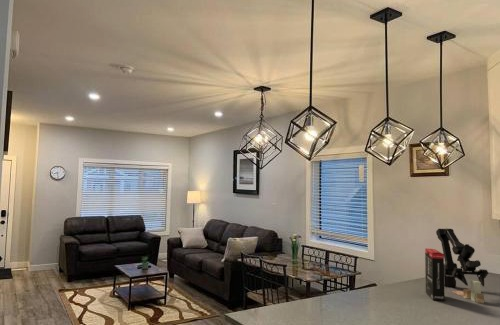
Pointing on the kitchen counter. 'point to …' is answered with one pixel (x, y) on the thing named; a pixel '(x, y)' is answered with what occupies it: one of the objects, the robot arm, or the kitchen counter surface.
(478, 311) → the kitchen counter surface
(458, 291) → the tile
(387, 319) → the kitchen counter surface
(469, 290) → the rack
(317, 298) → the kitchen counter surface
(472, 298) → the pale green block
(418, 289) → the kitchen counter surface
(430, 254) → the graphics card box
